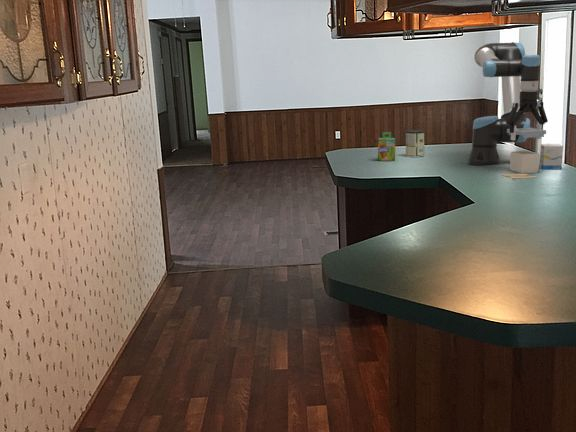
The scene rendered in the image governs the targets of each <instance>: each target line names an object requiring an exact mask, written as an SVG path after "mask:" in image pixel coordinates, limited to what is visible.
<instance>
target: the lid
mask: <svg viewBox="0 0 576 432" xmlns="http://www.w3.org/2000/svg"><path fill="white" fill-rule="evenodd" d="M507 133H509V135H511V133H510V129H507ZM546 134H547V129H543V130H541V129H537V128H534V127H530V128H516V135H523V138H527V139H529V138H530V139H531V138H536V137H541V138H544V137H545V135H546Z"/></svg>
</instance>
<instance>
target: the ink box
mask: <svg viewBox="0 0 576 432" xmlns="http://www.w3.org/2000/svg"><path fill="white" fill-rule="evenodd" d="M539 151H540V152H539V169H541V170H543V171H545V170H547V171H548V170H549V171H551V170H552V171H553V170H554V171H555V170H557V171H558V170H559V171H561V170H562V169H563V168H562V166H563V153H564V146H563V145H562V144H561V143H541V144H540V149H539Z"/></svg>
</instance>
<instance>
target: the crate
mask: <svg viewBox="0 0 576 432" xmlns="http://www.w3.org/2000/svg"><path fill="white" fill-rule="evenodd" d="M539 163H540V152H539V153H538V152H533V151H529V150H521V151H520V150H518V151H510V163H509V165H510V166H509V170H510V171H513V172H515V173H516V172H517V173H519V174H522V173H524V174H528V173H529V174H530V173H539V169H540V167H539Z"/></svg>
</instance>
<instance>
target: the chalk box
mask: <svg viewBox="0 0 576 432" xmlns="http://www.w3.org/2000/svg"><path fill="white" fill-rule="evenodd" d="M385 135H388V136H385ZM381 136H382V137H378V142H377V145H378V147H377V161H378V162H395V161H396V138H395V137H392V132H391V131H383V132H382V133H381Z"/></svg>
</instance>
